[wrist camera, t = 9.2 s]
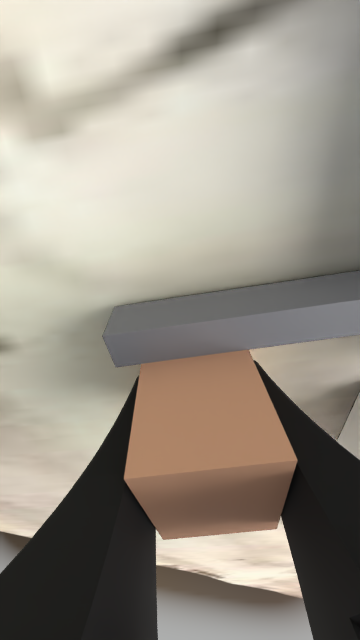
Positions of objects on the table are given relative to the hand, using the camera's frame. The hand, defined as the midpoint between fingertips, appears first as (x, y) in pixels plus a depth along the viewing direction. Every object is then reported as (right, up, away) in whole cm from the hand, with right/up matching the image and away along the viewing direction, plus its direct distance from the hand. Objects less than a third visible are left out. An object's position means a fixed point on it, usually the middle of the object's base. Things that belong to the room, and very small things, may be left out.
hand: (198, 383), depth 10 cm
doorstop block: (0, +1, +1) cm, 1 cm away
